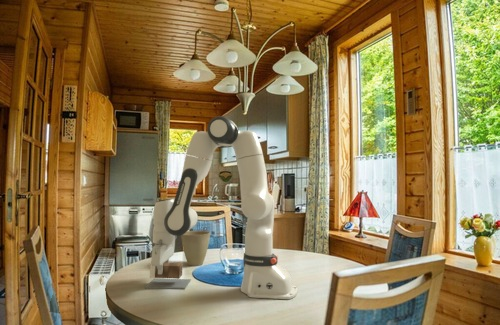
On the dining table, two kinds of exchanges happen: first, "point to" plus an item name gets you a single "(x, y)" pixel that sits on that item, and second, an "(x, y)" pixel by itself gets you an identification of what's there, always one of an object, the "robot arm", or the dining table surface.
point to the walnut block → (167, 271)
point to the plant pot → (195, 246)
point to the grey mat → (168, 284)
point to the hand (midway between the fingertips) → (162, 271)
